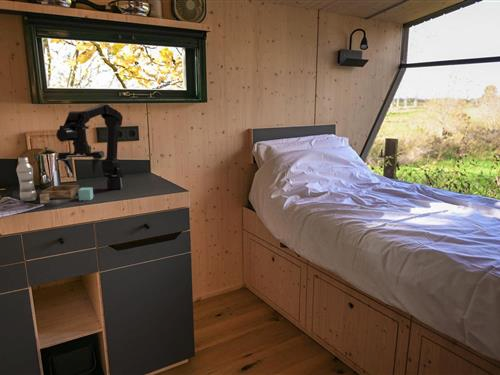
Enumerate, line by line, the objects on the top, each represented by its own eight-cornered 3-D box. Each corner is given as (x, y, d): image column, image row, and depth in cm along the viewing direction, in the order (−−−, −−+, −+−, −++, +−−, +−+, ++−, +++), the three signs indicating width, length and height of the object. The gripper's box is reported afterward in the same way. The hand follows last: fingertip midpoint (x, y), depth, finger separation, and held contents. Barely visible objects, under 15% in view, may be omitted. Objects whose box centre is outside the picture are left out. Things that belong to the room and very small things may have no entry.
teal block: (93, 197, 176) (92, 187, 174) (90, 200, 171) (89, 189, 170) (82, 198, 175) (81, 187, 174) (79, 200, 170) (78, 190, 169)
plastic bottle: (24, 199, 172) (18, 156, 168) (40, 199, 173) (34, 156, 168) (17, 203, 166) (11, 158, 161) (33, 202, 166) (27, 158, 162)
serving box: (79, 191, 187) (78, 185, 186) (71, 198, 174) (70, 191, 173) (52, 192, 185) (51, 185, 184) (41, 199, 172) (40, 192, 172)
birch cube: (49, 201, 170) (48, 193, 169) (49, 202, 167) (48, 195, 166) (40, 201, 168) (39, 194, 167) (40, 203, 165) (39, 196, 164)
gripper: (105, 137, 176) (108, 170, 179) (64, 138, 173) (68, 171, 177) (99, 139, 165) (102, 174, 168) (55, 140, 163) (59, 175, 166)
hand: (83, 173), depth 170 cm, fingers open, 9 cm apart
